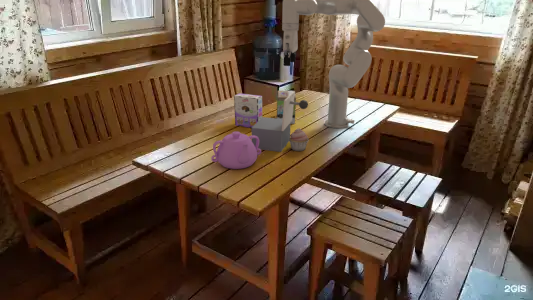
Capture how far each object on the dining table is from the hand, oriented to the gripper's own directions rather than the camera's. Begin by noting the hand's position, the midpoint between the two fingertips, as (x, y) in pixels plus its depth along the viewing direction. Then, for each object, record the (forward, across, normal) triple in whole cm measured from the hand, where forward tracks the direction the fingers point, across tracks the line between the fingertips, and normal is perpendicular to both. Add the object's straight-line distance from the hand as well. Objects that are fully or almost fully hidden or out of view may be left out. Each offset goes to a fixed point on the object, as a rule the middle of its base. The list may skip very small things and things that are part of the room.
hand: (289, 63), depth 198 cm
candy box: (+34, +2, +22) cm, 41 cm away
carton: (+34, -19, +3) cm, 39 cm away
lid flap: (+17, -19, -4) cm, 26 cm away
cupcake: (+34, -21, -10) cm, 42 cm away
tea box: (+35, +18, +6) cm, 39 cm away
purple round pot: (+35, -46, +9) cm, 58 cm away
